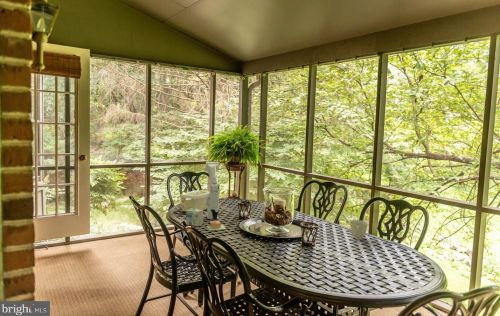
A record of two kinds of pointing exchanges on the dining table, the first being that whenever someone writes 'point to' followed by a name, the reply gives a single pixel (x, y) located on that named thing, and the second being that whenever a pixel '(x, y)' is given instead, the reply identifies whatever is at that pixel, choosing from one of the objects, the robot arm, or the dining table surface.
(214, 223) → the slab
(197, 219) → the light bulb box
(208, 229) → the mat
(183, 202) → the storage basket
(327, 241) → the dining table surface
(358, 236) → the teacup
